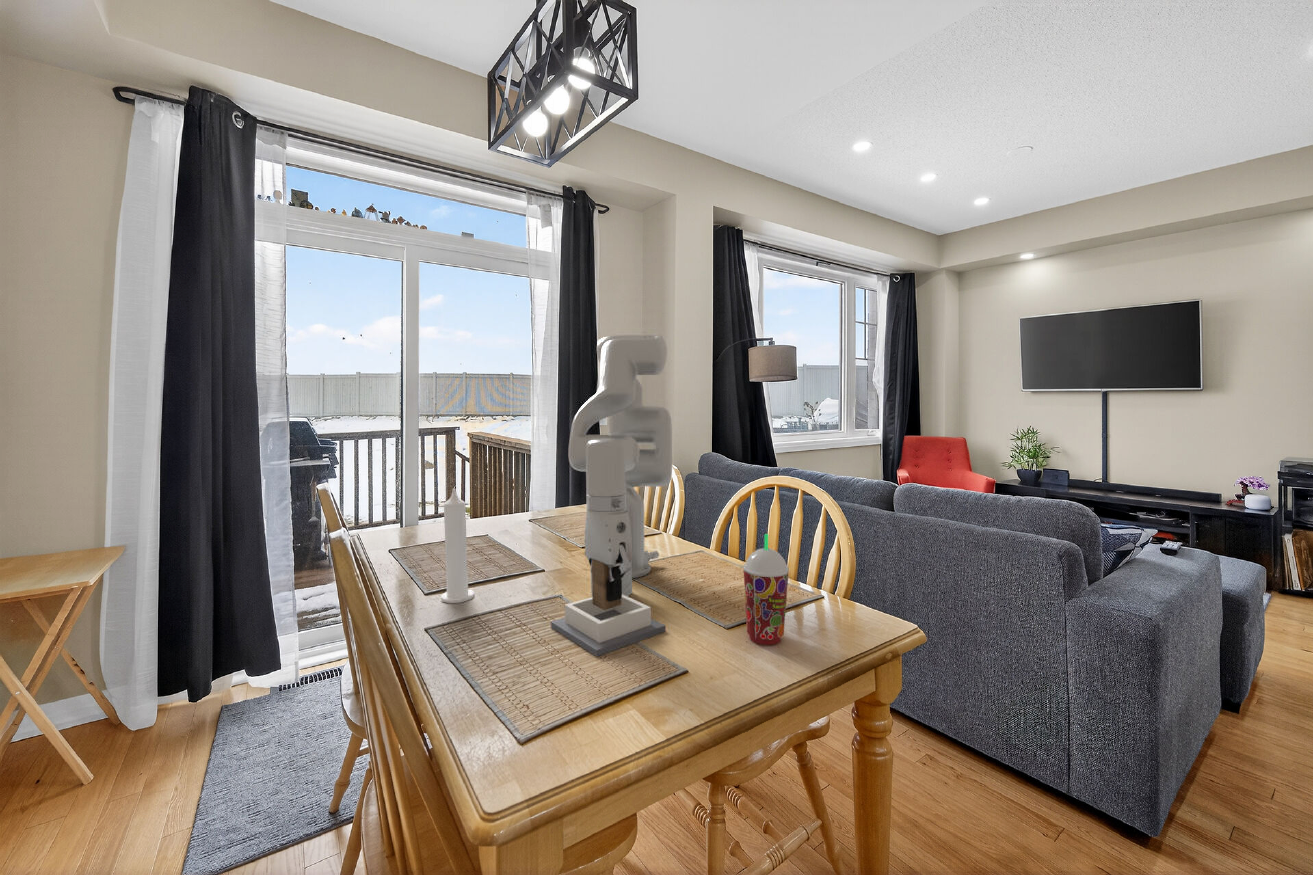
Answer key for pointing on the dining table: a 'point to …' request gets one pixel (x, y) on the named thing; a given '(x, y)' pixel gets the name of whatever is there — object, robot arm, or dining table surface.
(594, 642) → the collar stand
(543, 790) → the dining table surface
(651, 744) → the dining table surface
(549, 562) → the dining table surface
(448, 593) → the candle
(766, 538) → the smoothie
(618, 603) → the block
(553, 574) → the dining table surface
